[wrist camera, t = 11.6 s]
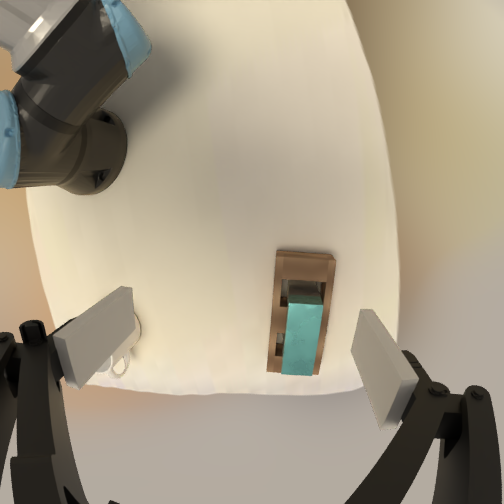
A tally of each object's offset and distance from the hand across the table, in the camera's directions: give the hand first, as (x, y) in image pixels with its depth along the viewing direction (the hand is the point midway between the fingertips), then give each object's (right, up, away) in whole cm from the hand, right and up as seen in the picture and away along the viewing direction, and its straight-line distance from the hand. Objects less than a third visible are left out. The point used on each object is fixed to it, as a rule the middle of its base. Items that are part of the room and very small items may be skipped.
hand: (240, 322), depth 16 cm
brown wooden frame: (+8, -5, +28) cm, 29 cm away
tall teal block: (+8, -5, +28) cm, 29 cm away
